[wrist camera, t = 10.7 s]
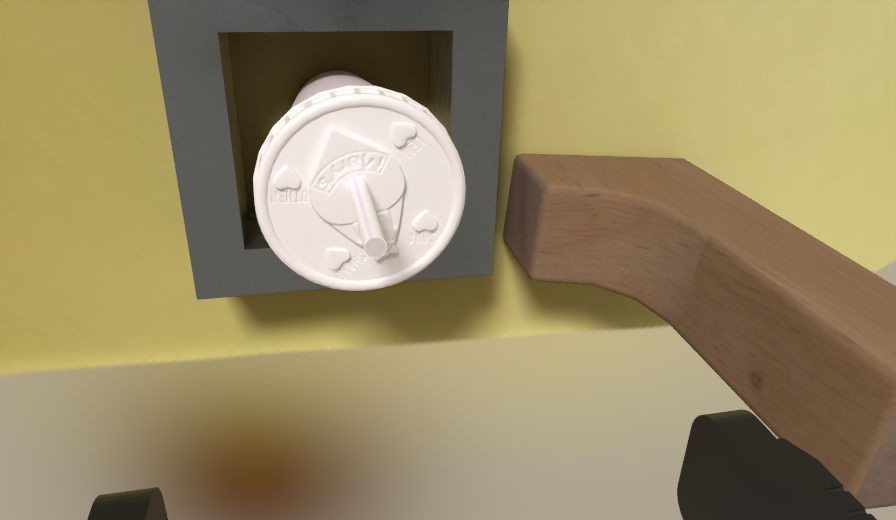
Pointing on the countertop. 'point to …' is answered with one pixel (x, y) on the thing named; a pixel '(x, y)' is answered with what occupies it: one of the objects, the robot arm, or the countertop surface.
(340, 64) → the countertop surface
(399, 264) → the smoothie
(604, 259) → the wooden block
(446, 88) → the frame
